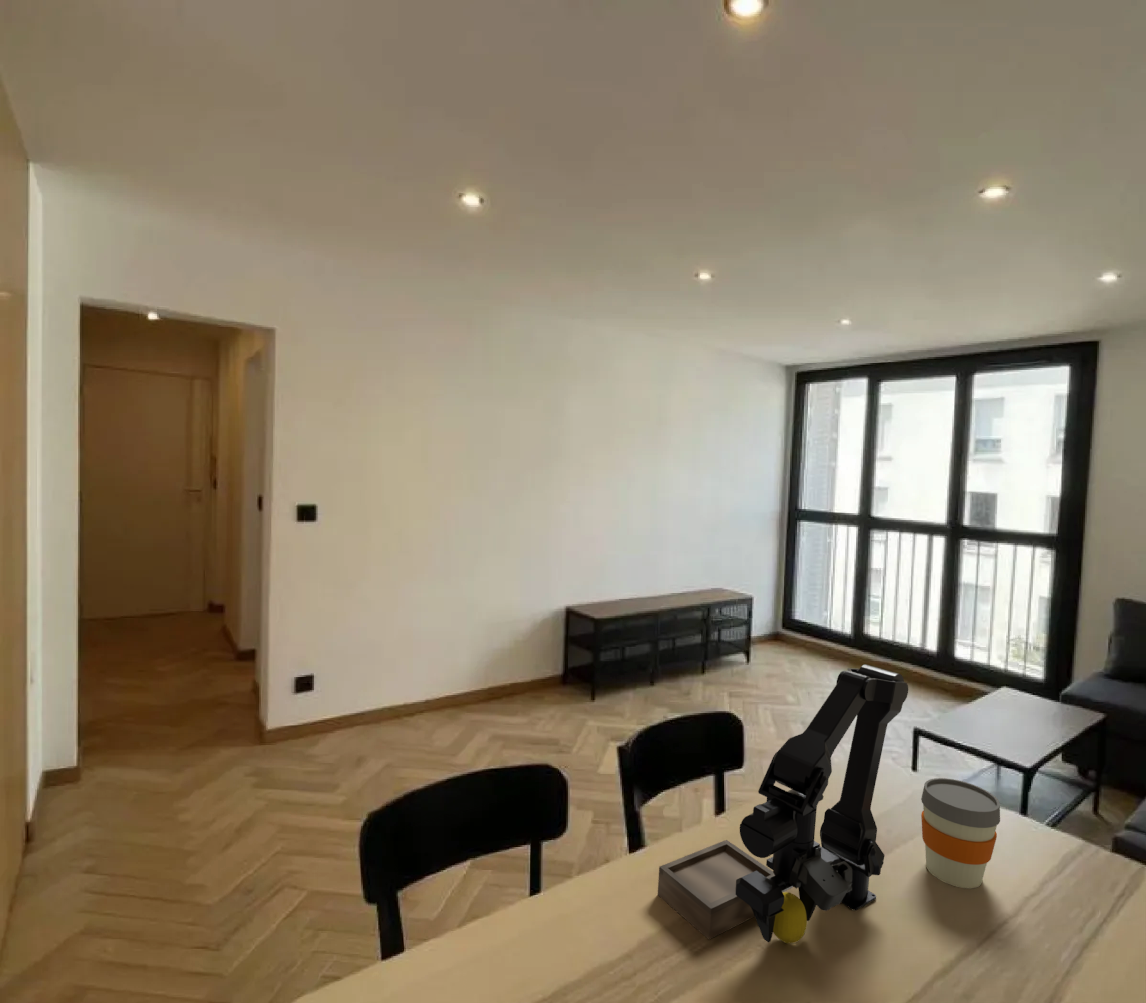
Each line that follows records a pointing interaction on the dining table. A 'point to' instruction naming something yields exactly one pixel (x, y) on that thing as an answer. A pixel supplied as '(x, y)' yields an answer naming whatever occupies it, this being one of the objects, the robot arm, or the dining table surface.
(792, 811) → the robot arm
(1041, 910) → the dining table surface
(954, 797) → the reusable coffee cup
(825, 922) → the dining table surface
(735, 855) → the wooden tray
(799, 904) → the lemon
